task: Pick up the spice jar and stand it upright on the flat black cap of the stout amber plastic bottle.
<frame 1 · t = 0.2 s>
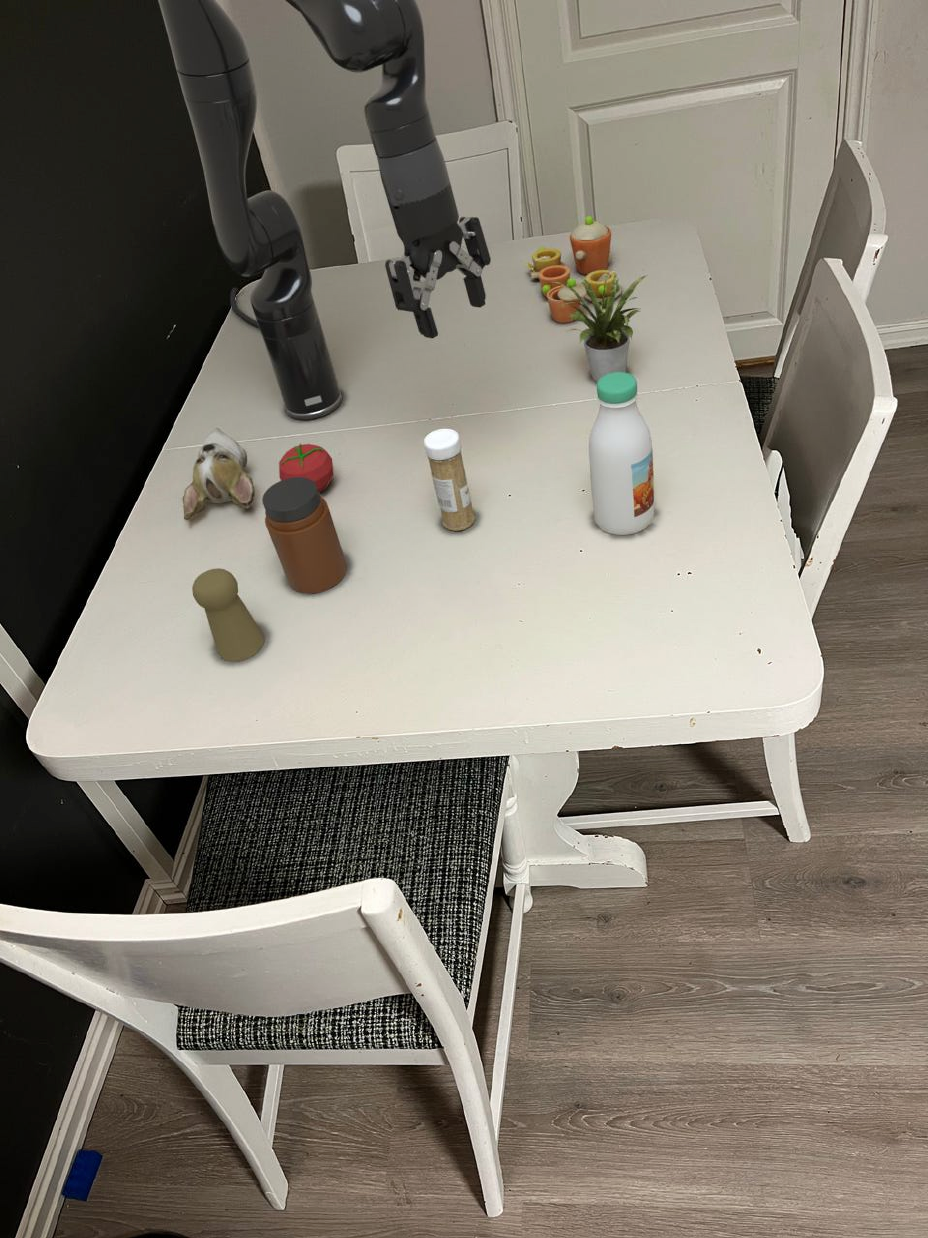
hand: (455, 321, 119), 23 cm above the table, tool pointing down, fingers open, 8 cm apart
ceramic sculpture: (227, 495, 141), on the table
house plant: (600, 377, 148), on the table
milk bottle: (624, 518, 122), on the table
tomato: (313, 489, 138), on the table
spice jar: (458, 522, 127), on the table
cork: (241, 645, 117), on the table
amber bottle: (317, 572, 124), on the table
toy tea set: (577, 290, 170), on the table
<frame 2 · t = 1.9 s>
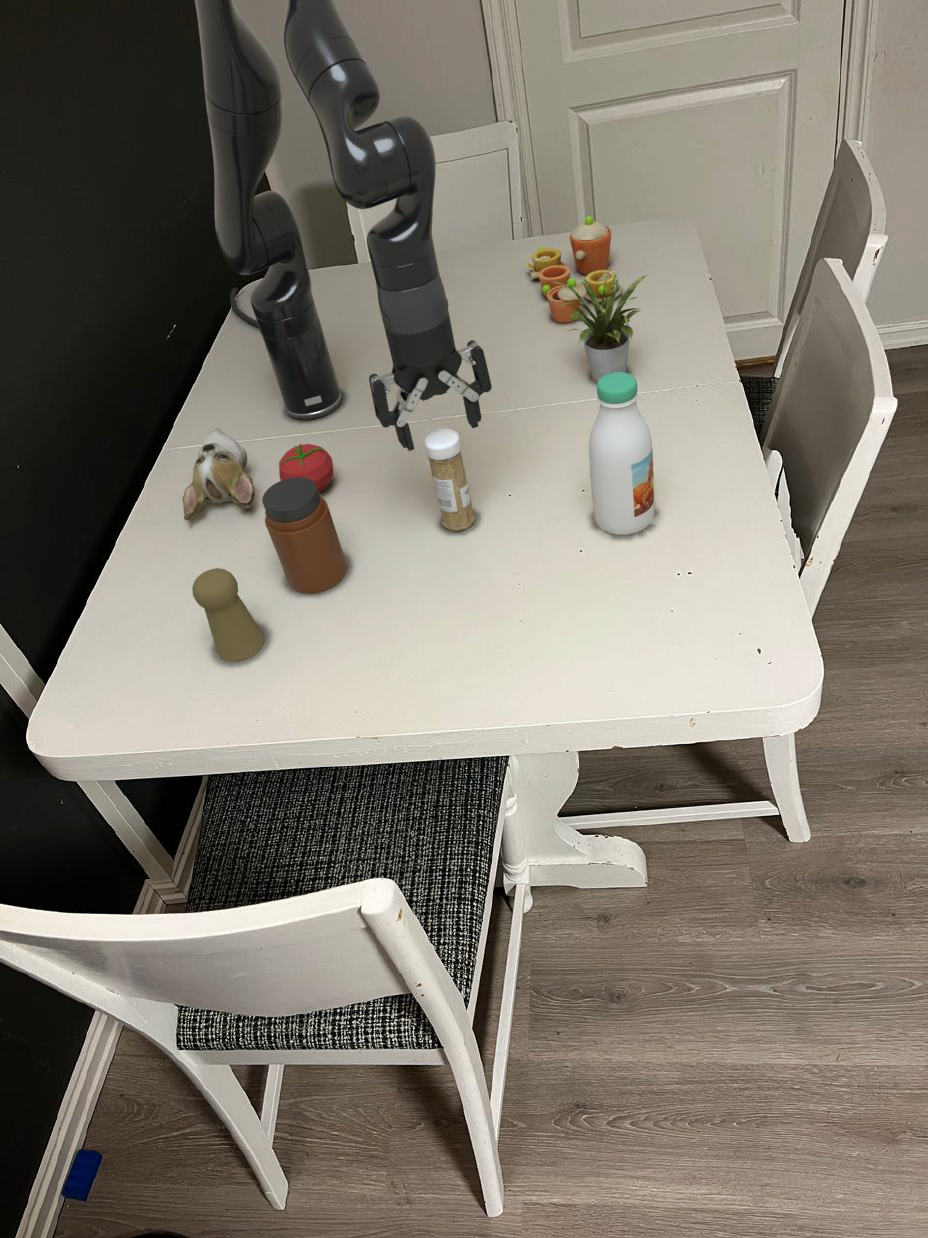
hand: (441, 436, 118), 14 cm above the table, tool pointing down, fingers open, 8 cm apart
nothing on the table moved.
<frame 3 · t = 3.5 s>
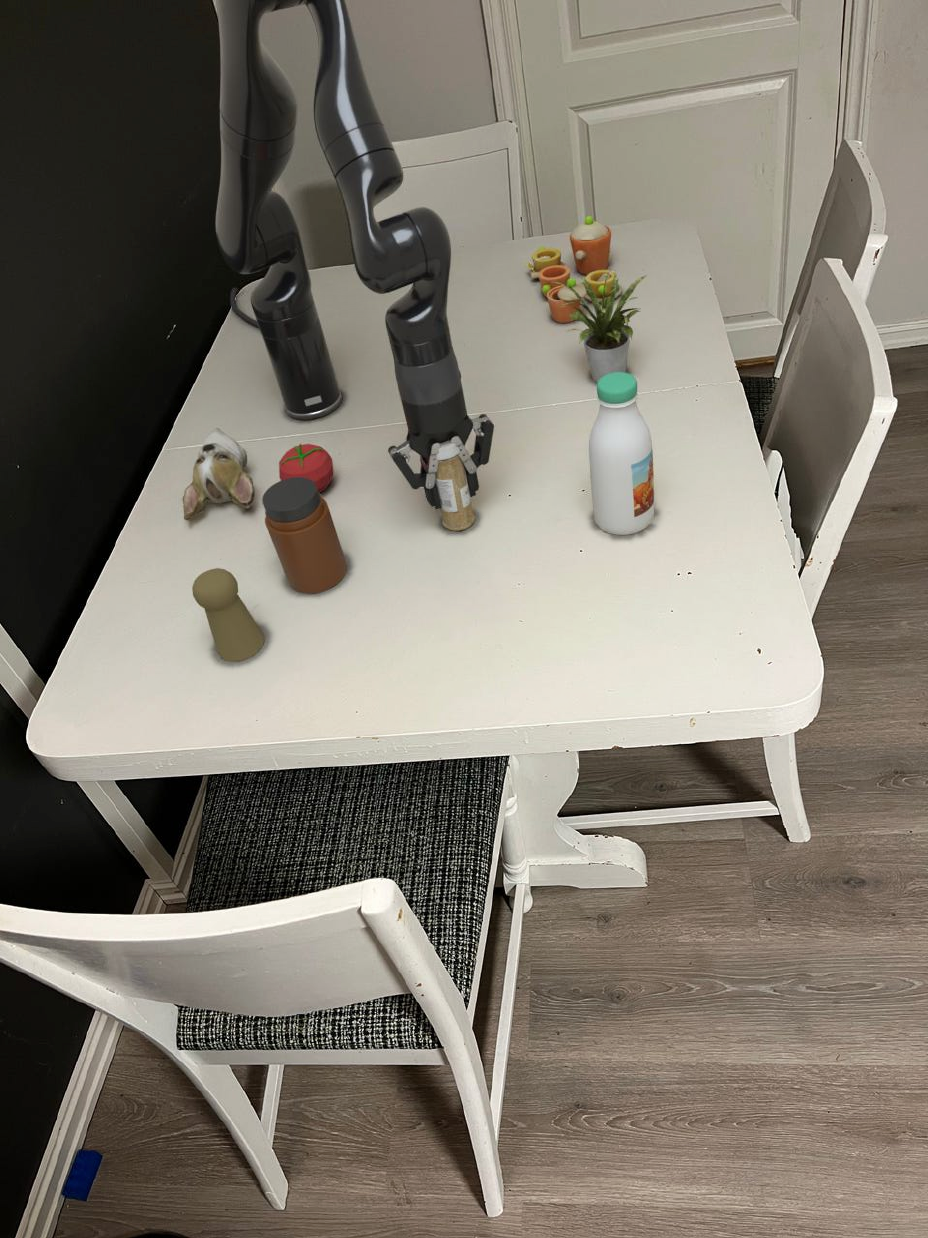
hand: (453, 499, 125), 4 cm above the table, tool pointing down, fingers closed on spice jar, 4 cm apart
spice jar: (458, 522, 127), on the table, touching gripper
everything else where it was.
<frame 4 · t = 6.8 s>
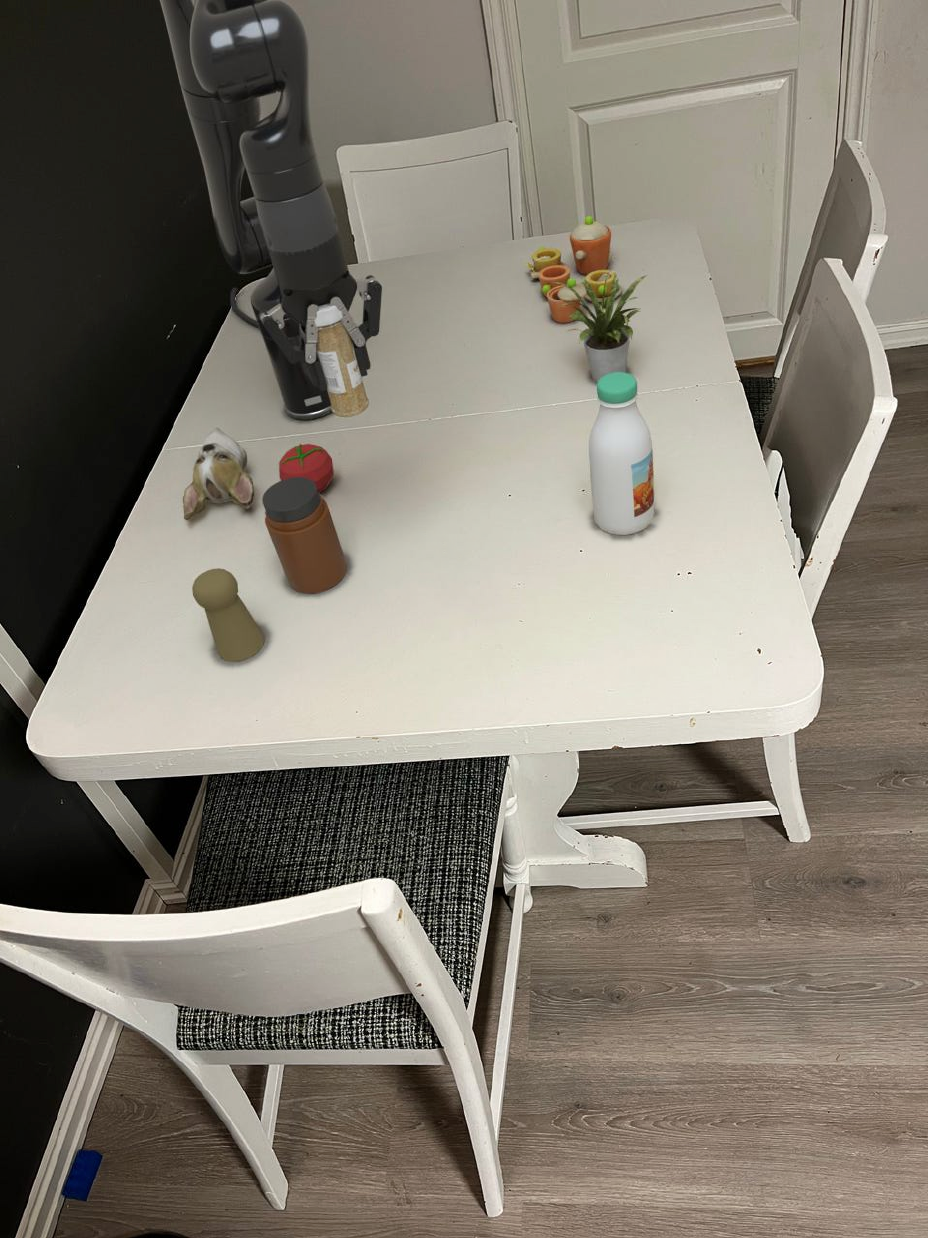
hand: (342, 379, 109), 25 cm above the table, tool pointing down, fingers closed on spice jar, 4 cm apart
spice jar: (351, 409, 111), point 21 cm above the table, touching gripper
everything else where it was.
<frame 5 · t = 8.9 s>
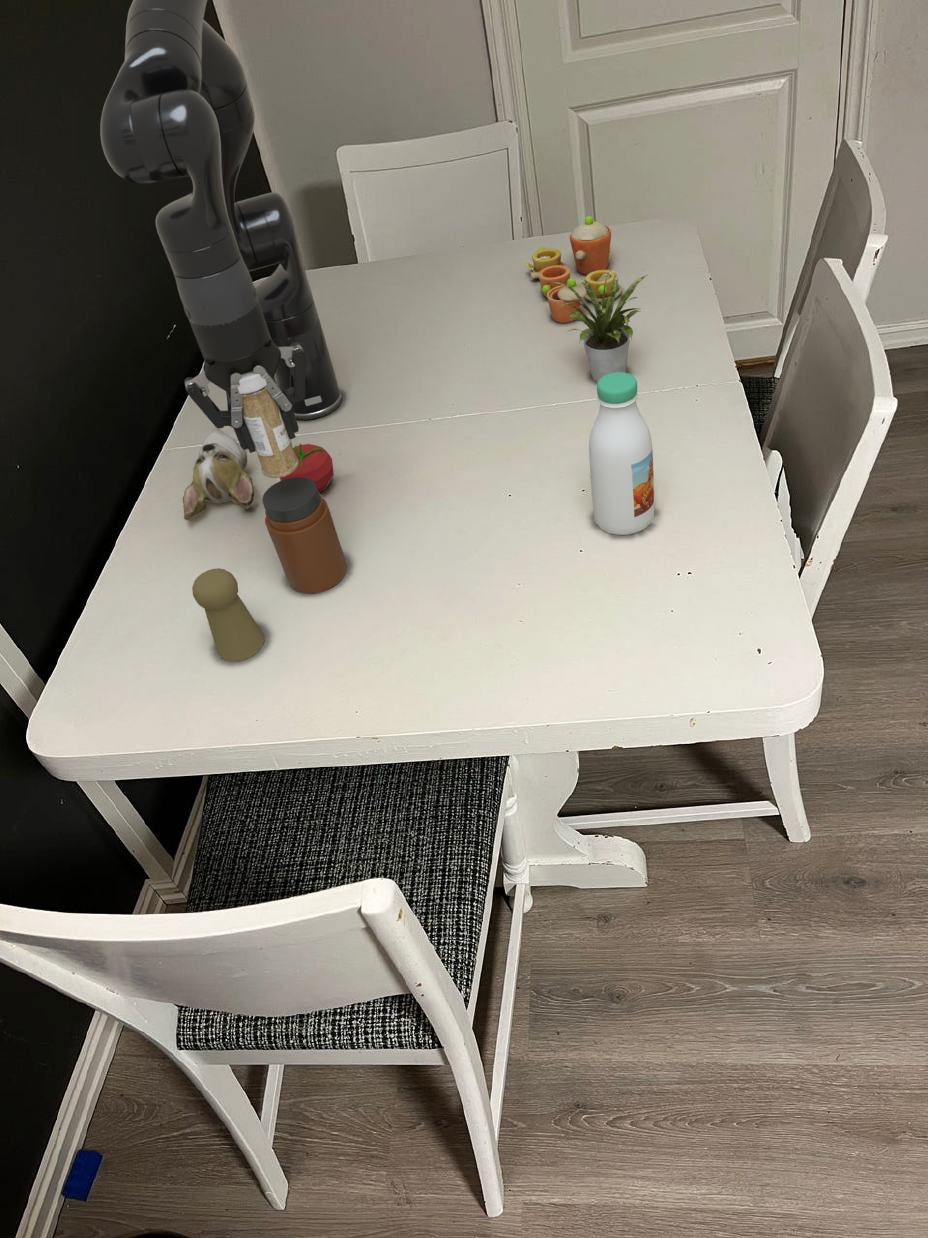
hand: (271, 441, 110), 20 cm above the table, tool pointing down, fingers closed on spice jar, 4 cm apart
spice jar: (281, 469, 113), point 16 cm above the table, touching gripper
everything else where it was.
when the fingers open (17 cm above the table, at t = 10.3 s): spice jar stays where it is, resting on amber bottle.
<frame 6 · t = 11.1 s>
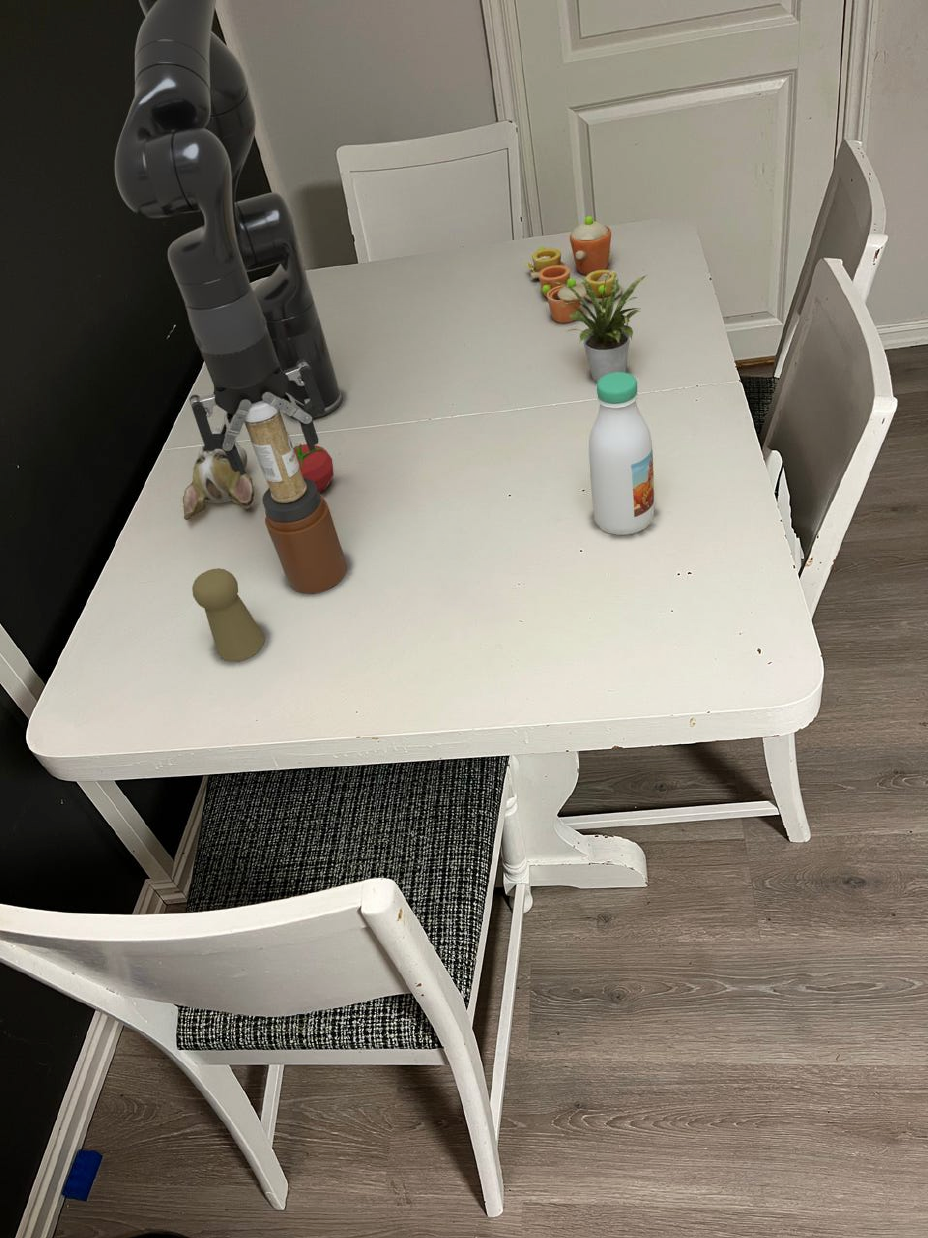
hand: (276, 459, 112), 18 cm above the table, tool pointing down, fingers open, 8 cm apart
spice jar: (290, 494, 115), point 13 cm above the table, touching amber bottle
amber bottle: (317, 572, 124), on the table, touching spice jar
everything else where it was.
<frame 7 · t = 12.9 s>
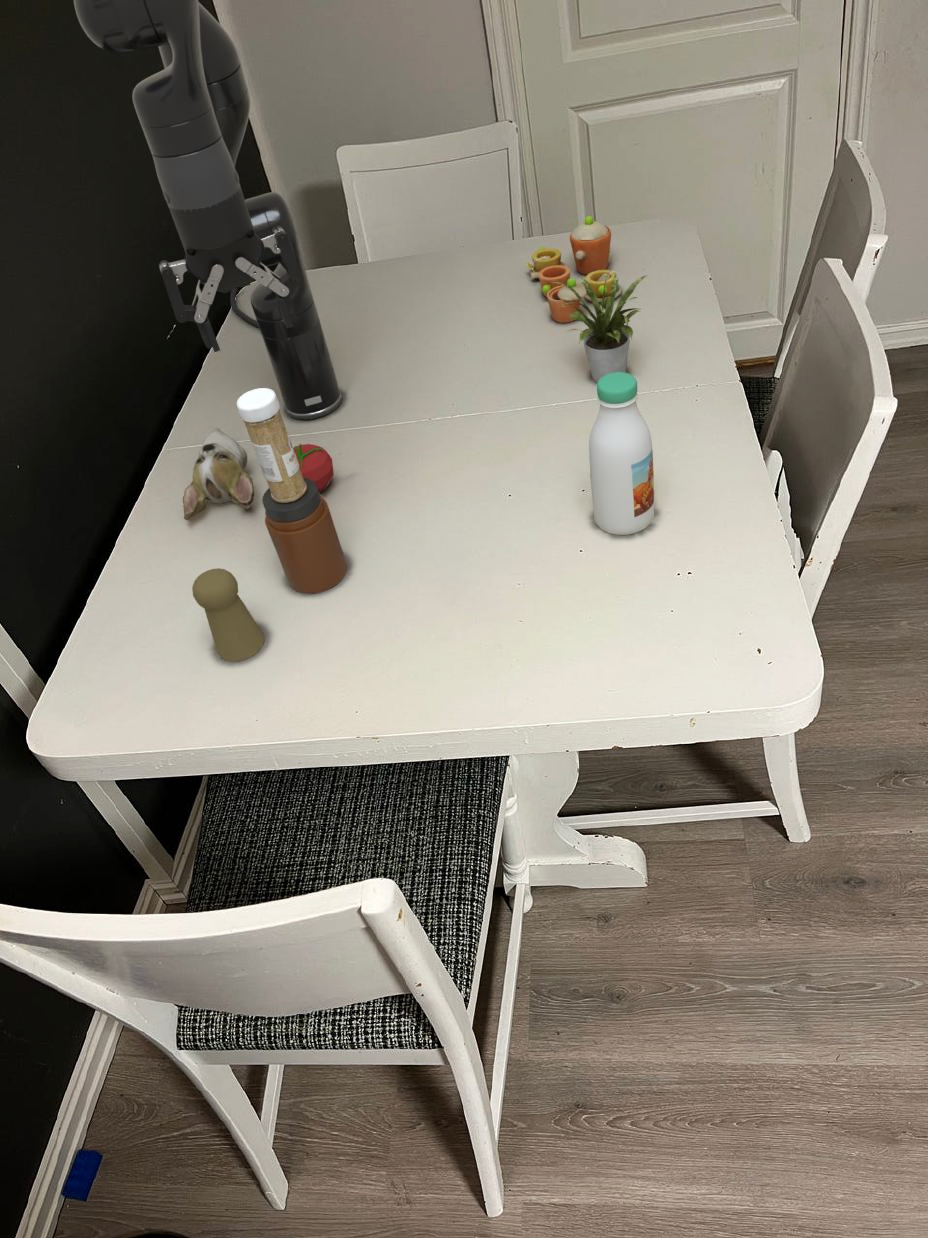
hand: (252, 336, 107), 31 cm above the table, tool pointing down, fingers open, 8 cm apart
nothing on the table moved.
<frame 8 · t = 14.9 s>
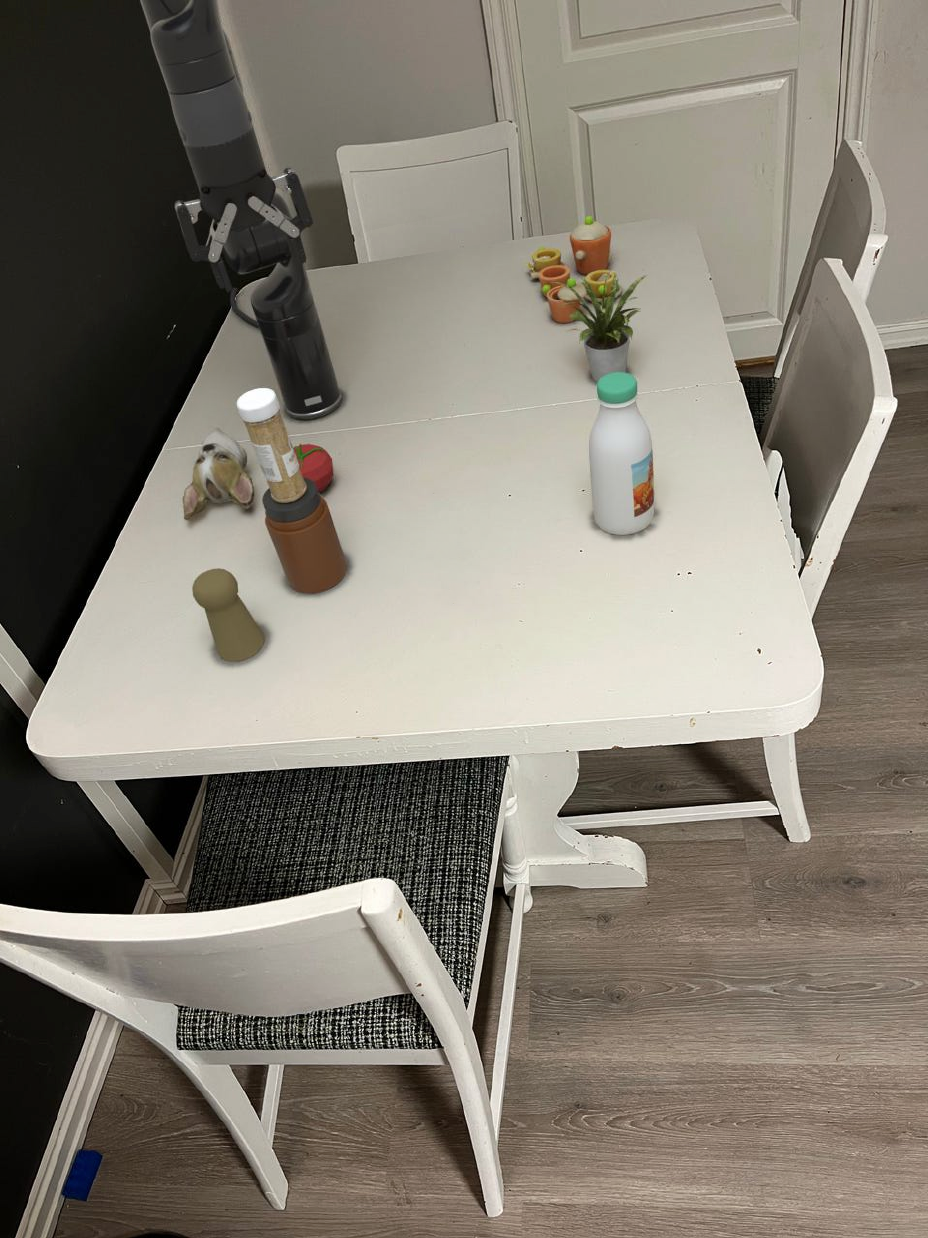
hand: (264, 278, 110), 34 cm above the table, tool pointing down, fingers open, 8 cm apart
nothing on the table moved.
at the end: spice jar 0.1 cm off-centre on the amber bottle, point 12.8 cm above the amber bottle's base; spice jar tilted 0°; amber bottle tilted 0° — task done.
